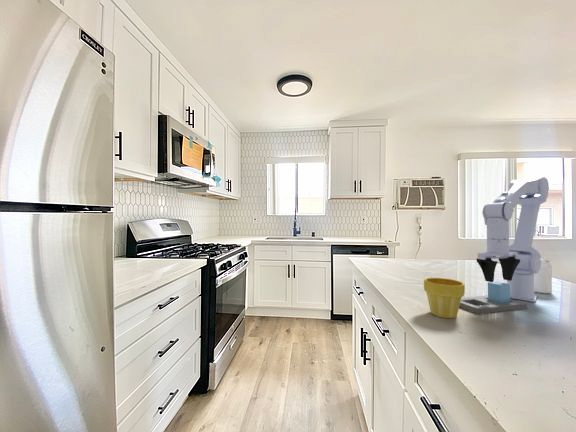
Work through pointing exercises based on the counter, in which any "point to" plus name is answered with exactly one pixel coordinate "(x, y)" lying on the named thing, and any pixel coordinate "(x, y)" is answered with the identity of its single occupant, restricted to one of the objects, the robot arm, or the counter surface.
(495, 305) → the holder plate
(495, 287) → the plug
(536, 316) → the counter surface
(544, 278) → the can
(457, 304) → the plant pot
